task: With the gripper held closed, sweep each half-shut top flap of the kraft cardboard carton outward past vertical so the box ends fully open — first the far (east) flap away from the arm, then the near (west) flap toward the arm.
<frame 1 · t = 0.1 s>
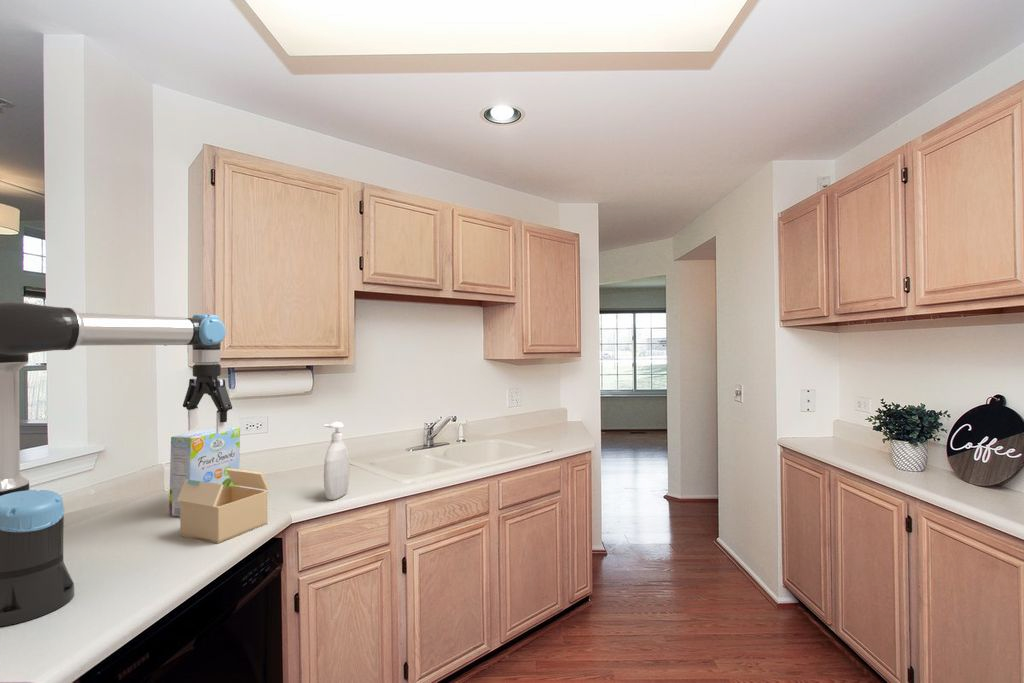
hand: (207, 431, 153), 28 cm above the worktop, fingers open, 13 cm apart
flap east: (247, 478, 153), point 13 cm above the worktop, hinge at 65.0°
soap bottle: (335, 496, 177), on the worktop
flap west: (199, 492, 139), point 13 cm above the worktop, hinge at 65.0°
snack box: (206, 507, 166), on the worktop
carton: (225, 529, 146), on the worktop
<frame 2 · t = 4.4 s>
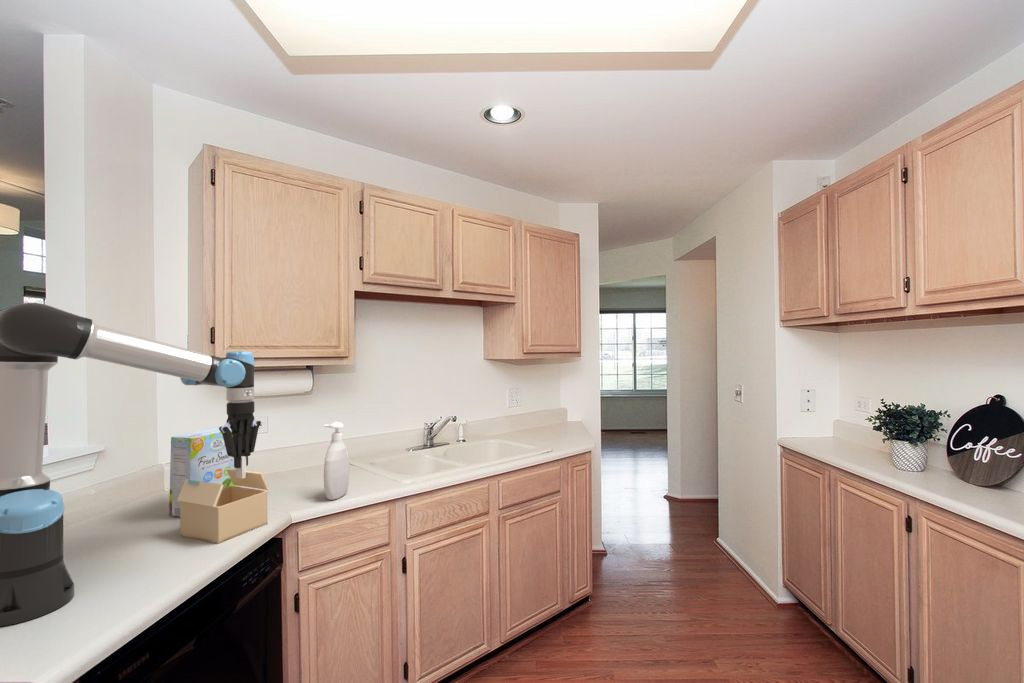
hand: (241, 477, 151), 14 cm above the worktop, fingers closed
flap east: (247, 478, 153), point 13 cm above the worktop, hinge at 65.8°, touching gripper
everything else where it was.
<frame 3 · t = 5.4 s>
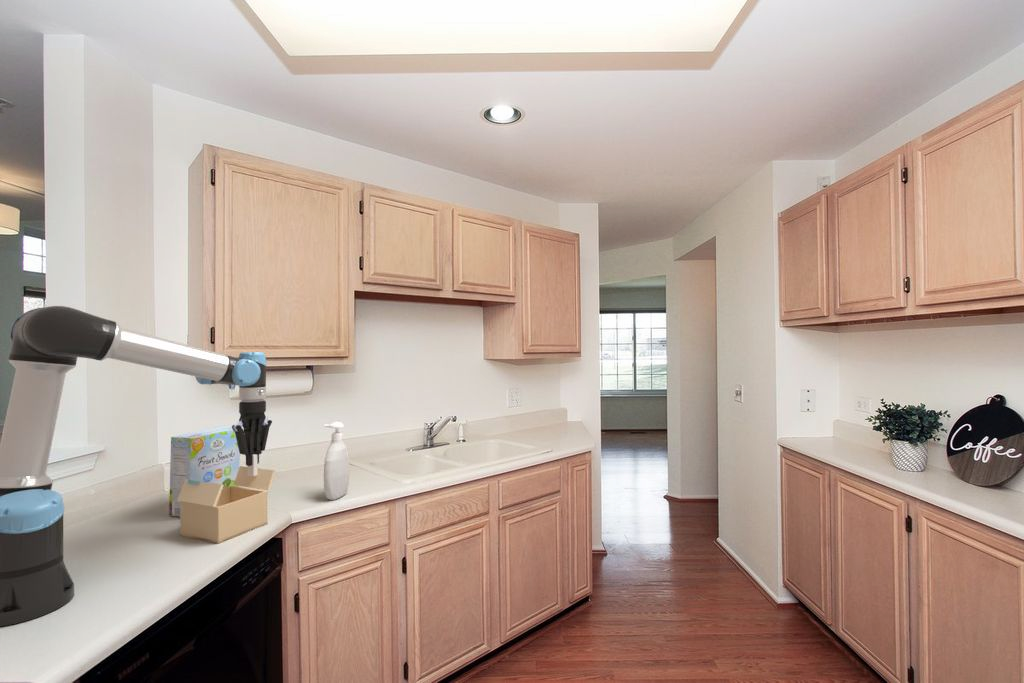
hand: (252, 475, 154), 14 cm above the worktop, fingers closed
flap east: (254, 478, 155), point 13 cm above the worktop, hinge at 113.1°, touching gripper
everything else where it was.
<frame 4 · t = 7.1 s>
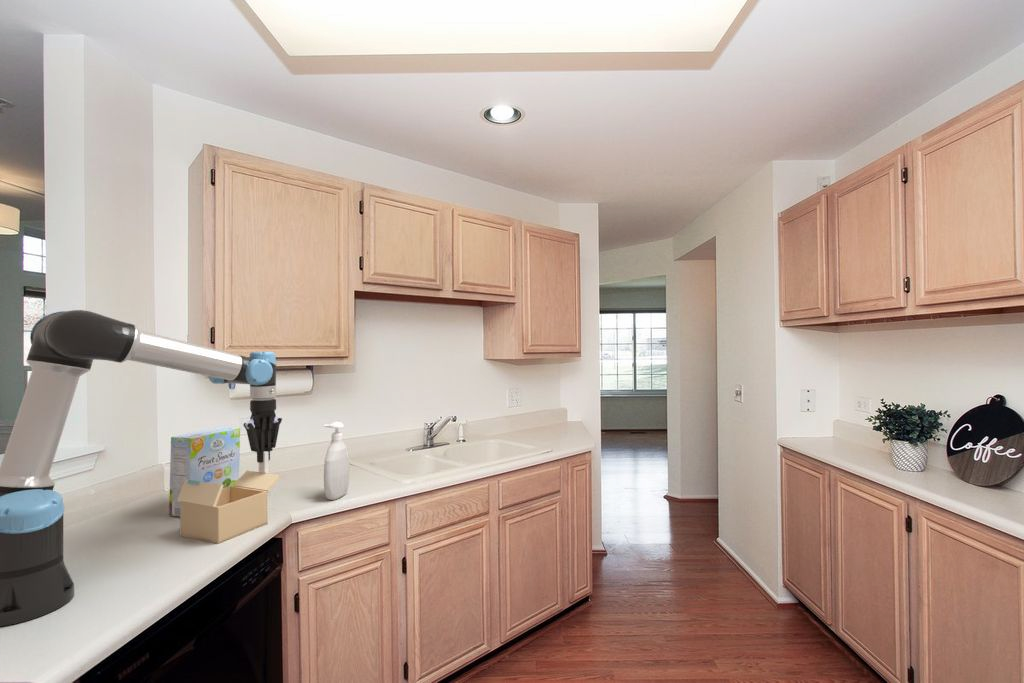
hand: (263, 471, 158), 14 cm above the worktop, fingers closed
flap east: (257, 481, 156), point 11 cm above the worktop, hinge at 143.9°, touching gripper
everything else where it was.
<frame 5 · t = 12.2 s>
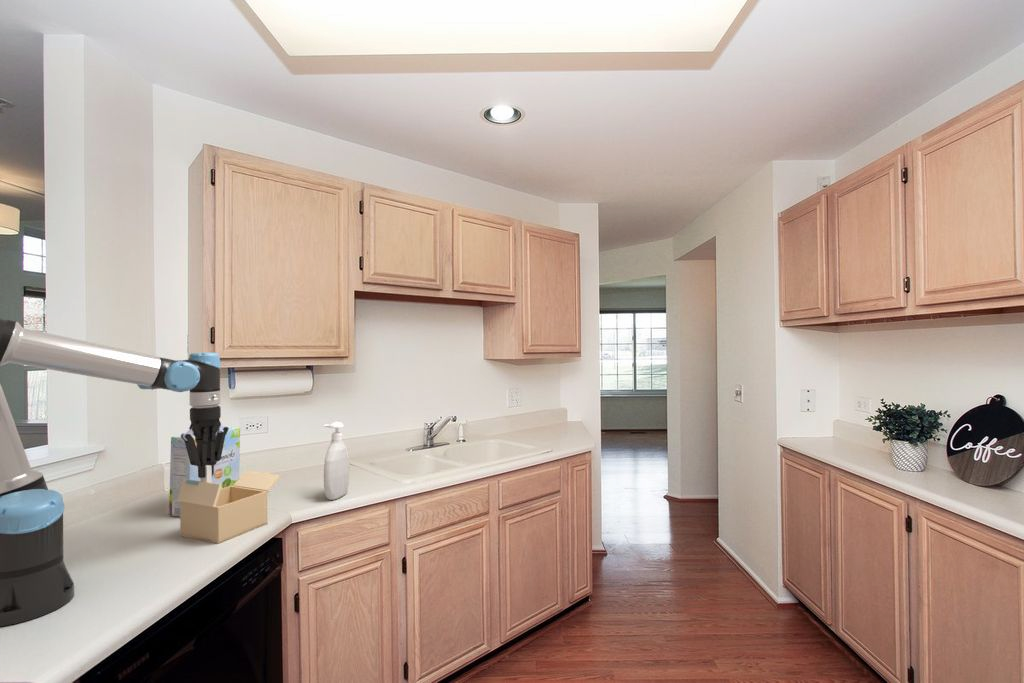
hand: (206, 487, 141), 14 cm above the worktop, fingers closed
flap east: (257, 481, 156), point 11 cm above the worktop, hinge at 144.0°
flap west: (199, 492, 138), point 13 cm above the worktop, hinge at 70.3°, touching gripper
everything else where it was.
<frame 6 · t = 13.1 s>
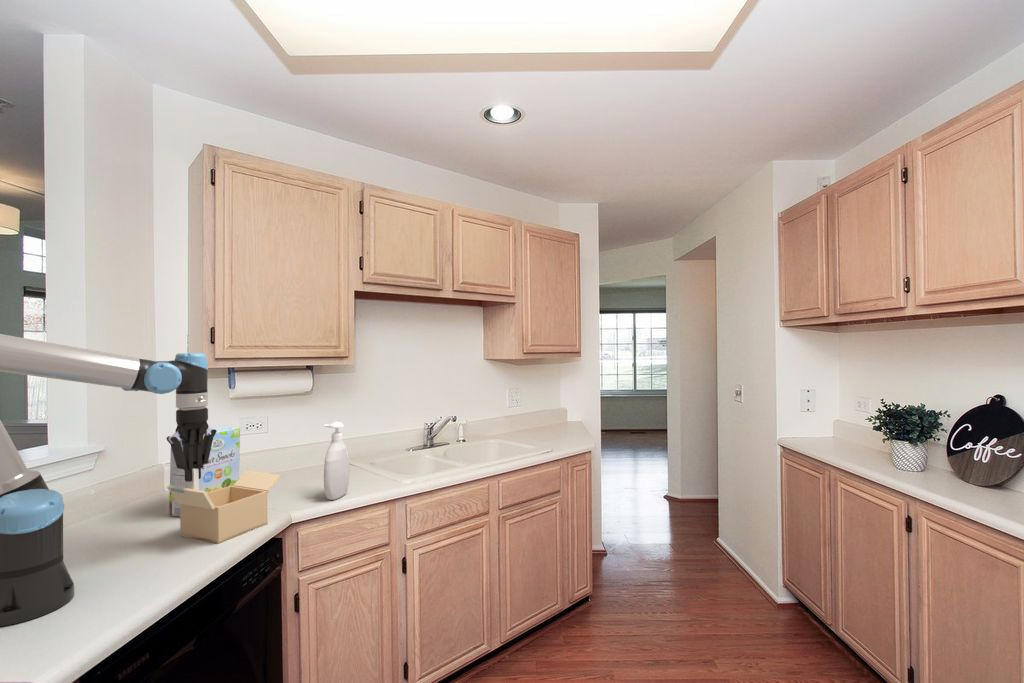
hand: (193, 492, 137), 14 cm above the worktop, fingers closed
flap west: (190, 497, 136), point 13 cm above the worktop, hinge at 117.6°, touching gripper
everything else where it was.
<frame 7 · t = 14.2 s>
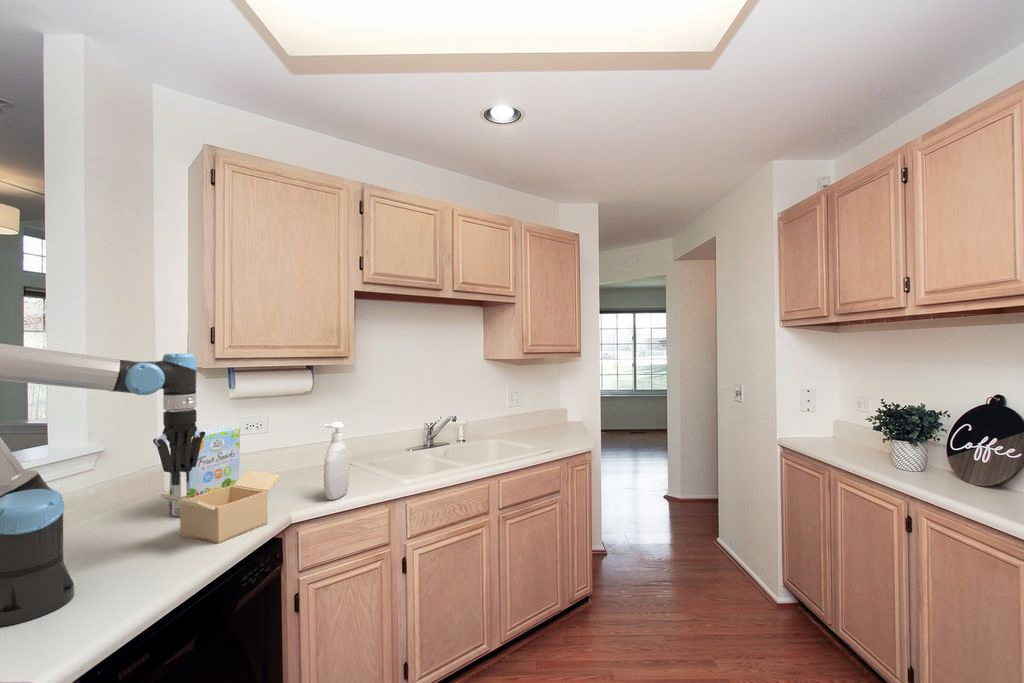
hand: (180, 495, 134), 14 cm above the worktop, fingers closed
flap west: (187, 502, 135), point 11 cm above the worktop, hinge at 144.4°, touching gripper
everything else where it was.
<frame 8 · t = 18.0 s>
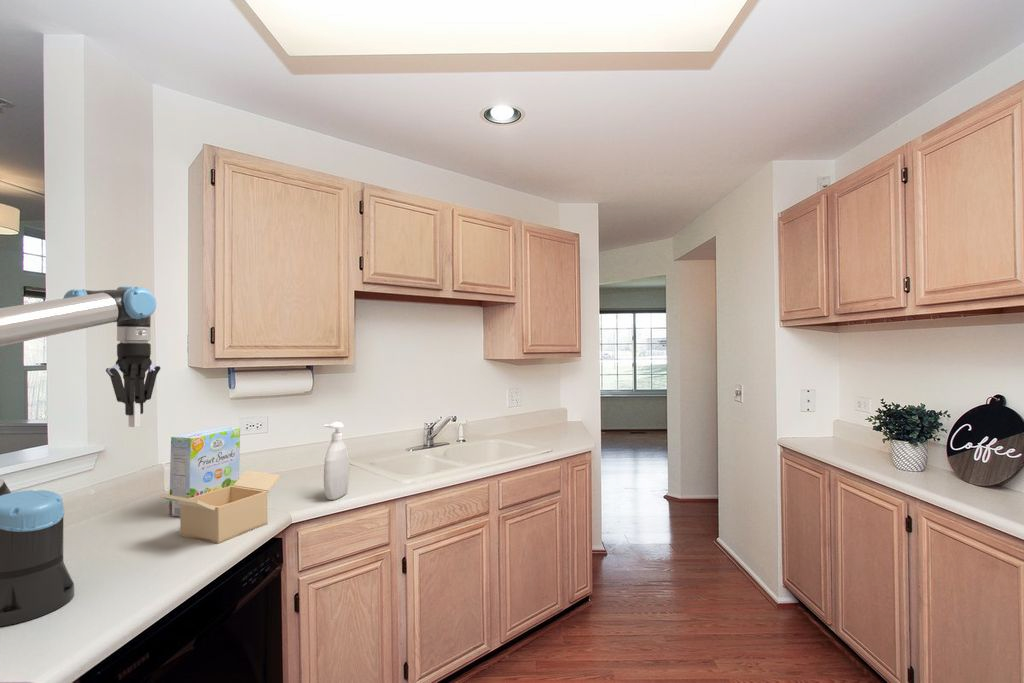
hand: (134, 426, 137), 32 cm above the worktop, fingers closed
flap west: (187, 502, 135), point 11 cm above the worktop, hinge at 144.5°
everything else where it was.
at the end: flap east at +144° (first picture: +65°); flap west at +144° (first picture: +65°) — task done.
